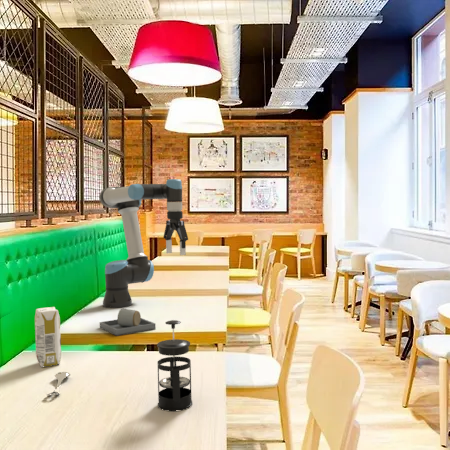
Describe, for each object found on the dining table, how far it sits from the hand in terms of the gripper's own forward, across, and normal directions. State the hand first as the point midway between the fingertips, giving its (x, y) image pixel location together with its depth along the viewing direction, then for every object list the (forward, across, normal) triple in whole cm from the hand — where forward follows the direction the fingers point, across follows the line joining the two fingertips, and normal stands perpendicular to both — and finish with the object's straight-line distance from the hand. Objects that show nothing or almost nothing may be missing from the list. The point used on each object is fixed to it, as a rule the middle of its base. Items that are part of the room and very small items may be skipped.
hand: (175, 254), depth 268 cm
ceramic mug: (+28, -14, +32) cm, 45 cm away
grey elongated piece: (+29, -72, +82) cm, 113 cm away
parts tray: (+29, -16, +34) cm, 47 cm away
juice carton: (+29, -46, +77) cm, 94 cm away
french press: (+29, -106, +61) cm, 126 cm away
